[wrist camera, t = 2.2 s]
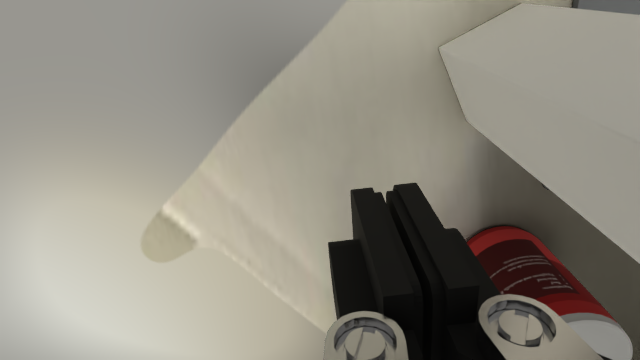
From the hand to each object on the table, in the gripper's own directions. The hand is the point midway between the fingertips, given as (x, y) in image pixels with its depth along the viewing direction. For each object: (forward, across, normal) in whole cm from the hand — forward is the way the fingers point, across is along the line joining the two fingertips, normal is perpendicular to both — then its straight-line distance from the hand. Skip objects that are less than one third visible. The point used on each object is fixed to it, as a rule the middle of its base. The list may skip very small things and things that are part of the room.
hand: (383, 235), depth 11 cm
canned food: (+19, -14, +18) cm, 29 cm away
